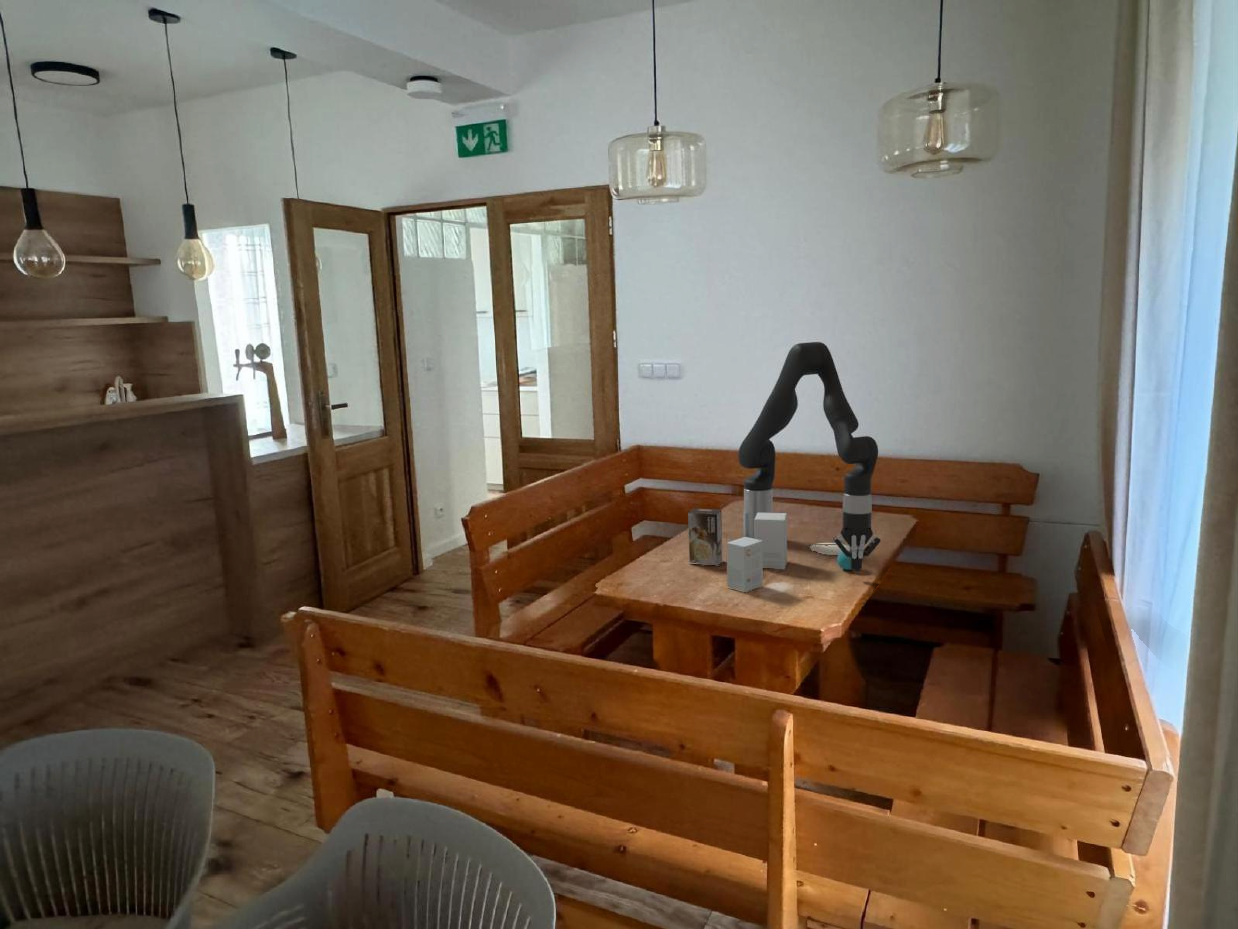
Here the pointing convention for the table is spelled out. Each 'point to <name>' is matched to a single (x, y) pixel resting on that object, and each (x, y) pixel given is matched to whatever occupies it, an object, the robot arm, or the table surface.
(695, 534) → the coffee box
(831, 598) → the table surface
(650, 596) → the table surface
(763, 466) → the robot arm
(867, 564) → the table surface
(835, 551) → the disc
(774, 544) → the supplement box
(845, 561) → the ball
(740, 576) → the small box
